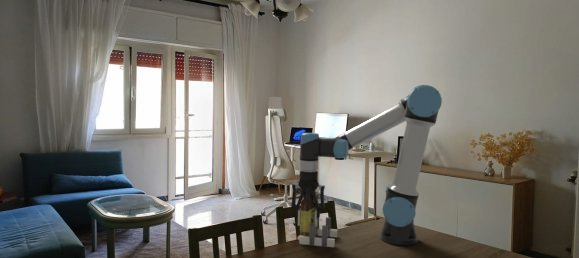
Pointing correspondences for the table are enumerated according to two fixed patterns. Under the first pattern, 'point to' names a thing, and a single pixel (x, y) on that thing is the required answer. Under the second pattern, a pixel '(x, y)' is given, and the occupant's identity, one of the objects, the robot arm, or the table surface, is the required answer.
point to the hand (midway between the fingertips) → (307, 225)
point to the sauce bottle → (307, 213)
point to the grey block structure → (323, 232)
